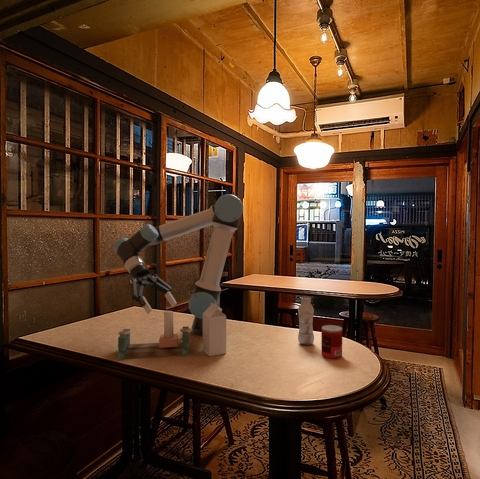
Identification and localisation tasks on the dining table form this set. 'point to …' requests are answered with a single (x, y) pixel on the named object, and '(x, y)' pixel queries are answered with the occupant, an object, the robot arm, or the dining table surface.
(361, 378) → the dining table surface
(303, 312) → the plastic bottle
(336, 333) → the canned food
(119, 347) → the rail board
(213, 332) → the milk carton
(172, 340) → the carriage
